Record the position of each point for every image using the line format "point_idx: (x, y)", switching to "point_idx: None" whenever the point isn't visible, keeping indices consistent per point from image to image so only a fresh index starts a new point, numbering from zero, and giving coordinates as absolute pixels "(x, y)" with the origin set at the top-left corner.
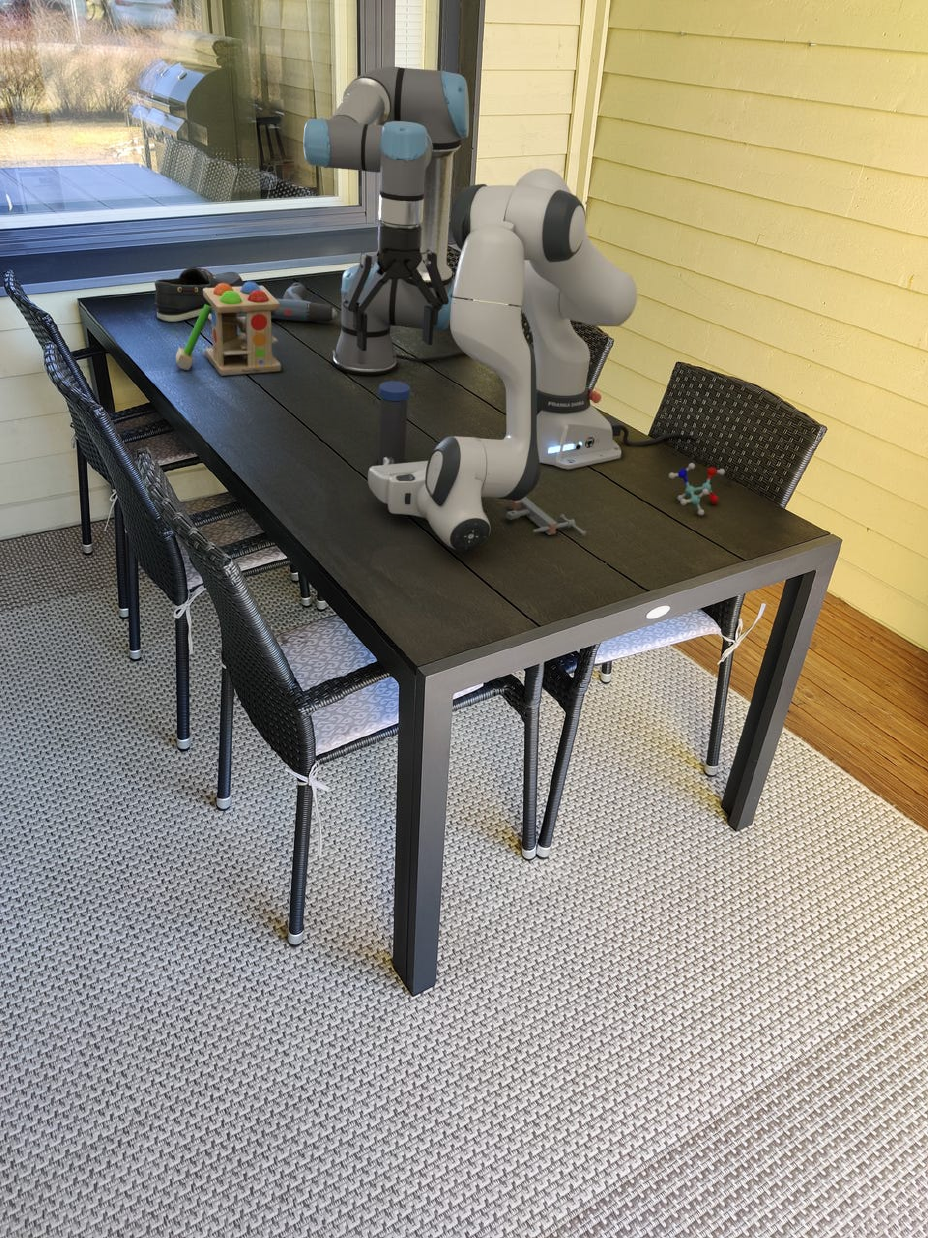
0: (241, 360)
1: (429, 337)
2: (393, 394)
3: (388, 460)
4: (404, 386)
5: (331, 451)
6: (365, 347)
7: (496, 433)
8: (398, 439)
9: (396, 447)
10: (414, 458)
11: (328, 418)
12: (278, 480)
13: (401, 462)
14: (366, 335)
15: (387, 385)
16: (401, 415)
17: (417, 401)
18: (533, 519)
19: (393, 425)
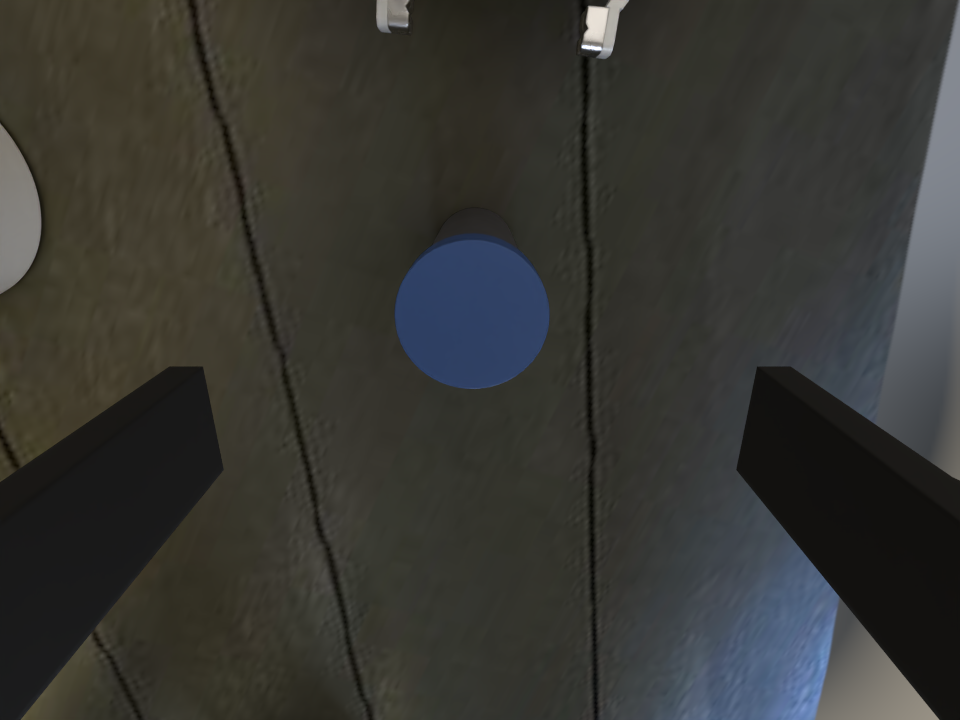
0: None
1: (164, 391)
2: (510, 248)
3: (610, 10)
4: (421, 309)
5: (598, 381)
6: (782, 375)
7: (76, 353)
8: (472, 219)
9: (479, 215)
10: (388, 270)
11: (517, 555)
12: (821, 257)
13: (457, 213)
14: (837, 425)
15: (500, 343)
16: (461, 232)
17: (248, 586)
18: None
19: (495, 230)
